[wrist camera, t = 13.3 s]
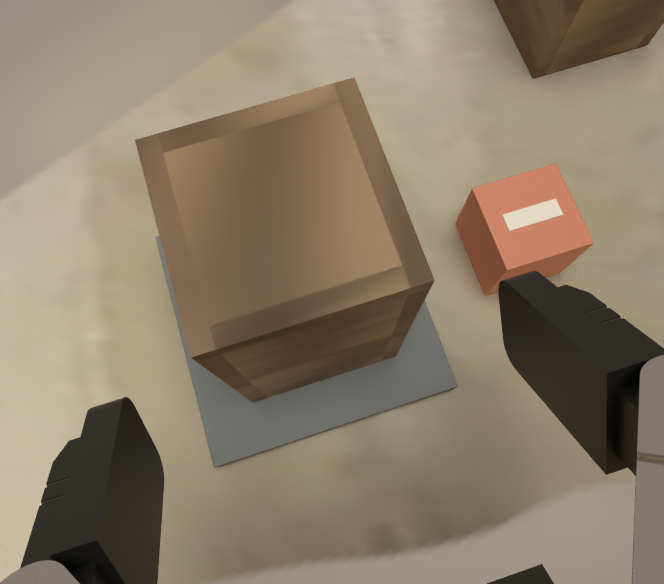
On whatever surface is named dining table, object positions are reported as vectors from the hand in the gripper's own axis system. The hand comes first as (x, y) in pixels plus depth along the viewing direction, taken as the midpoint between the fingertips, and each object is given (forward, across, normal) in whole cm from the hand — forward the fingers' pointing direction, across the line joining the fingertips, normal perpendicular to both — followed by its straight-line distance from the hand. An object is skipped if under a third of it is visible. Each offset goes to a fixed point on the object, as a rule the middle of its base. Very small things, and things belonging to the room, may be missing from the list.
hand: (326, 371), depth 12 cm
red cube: (+12, -10, +5) cm, 16 cm away
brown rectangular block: (+11, 0, +5) cm, 12 cm away
